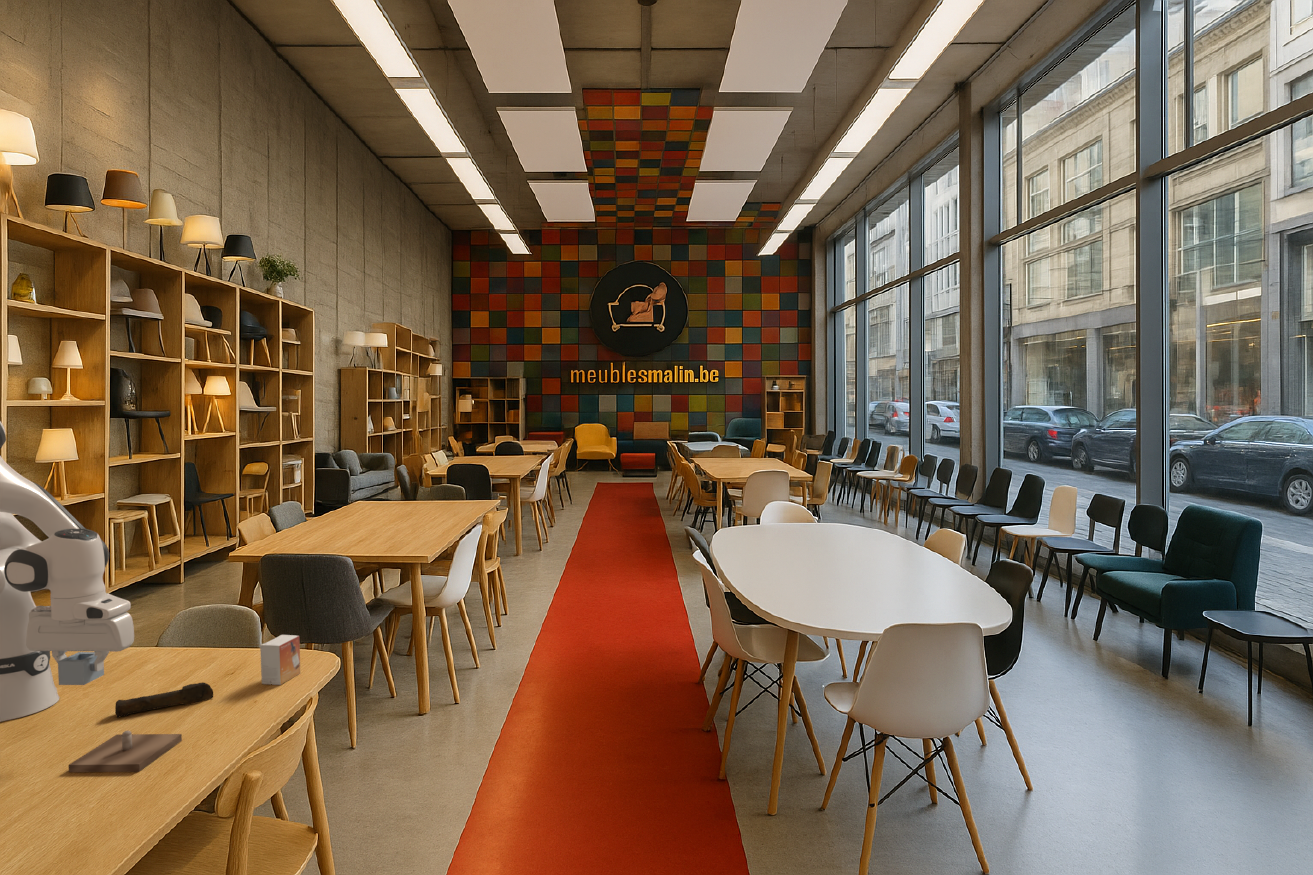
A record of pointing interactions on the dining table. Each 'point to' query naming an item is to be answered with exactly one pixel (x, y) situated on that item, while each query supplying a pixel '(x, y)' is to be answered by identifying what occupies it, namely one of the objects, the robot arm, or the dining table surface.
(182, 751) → the dining table surface
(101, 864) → the dining table surface
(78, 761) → the mounting plate
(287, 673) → the small box
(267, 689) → the dining table surface
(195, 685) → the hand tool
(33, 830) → the dining table surface
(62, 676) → the collar
